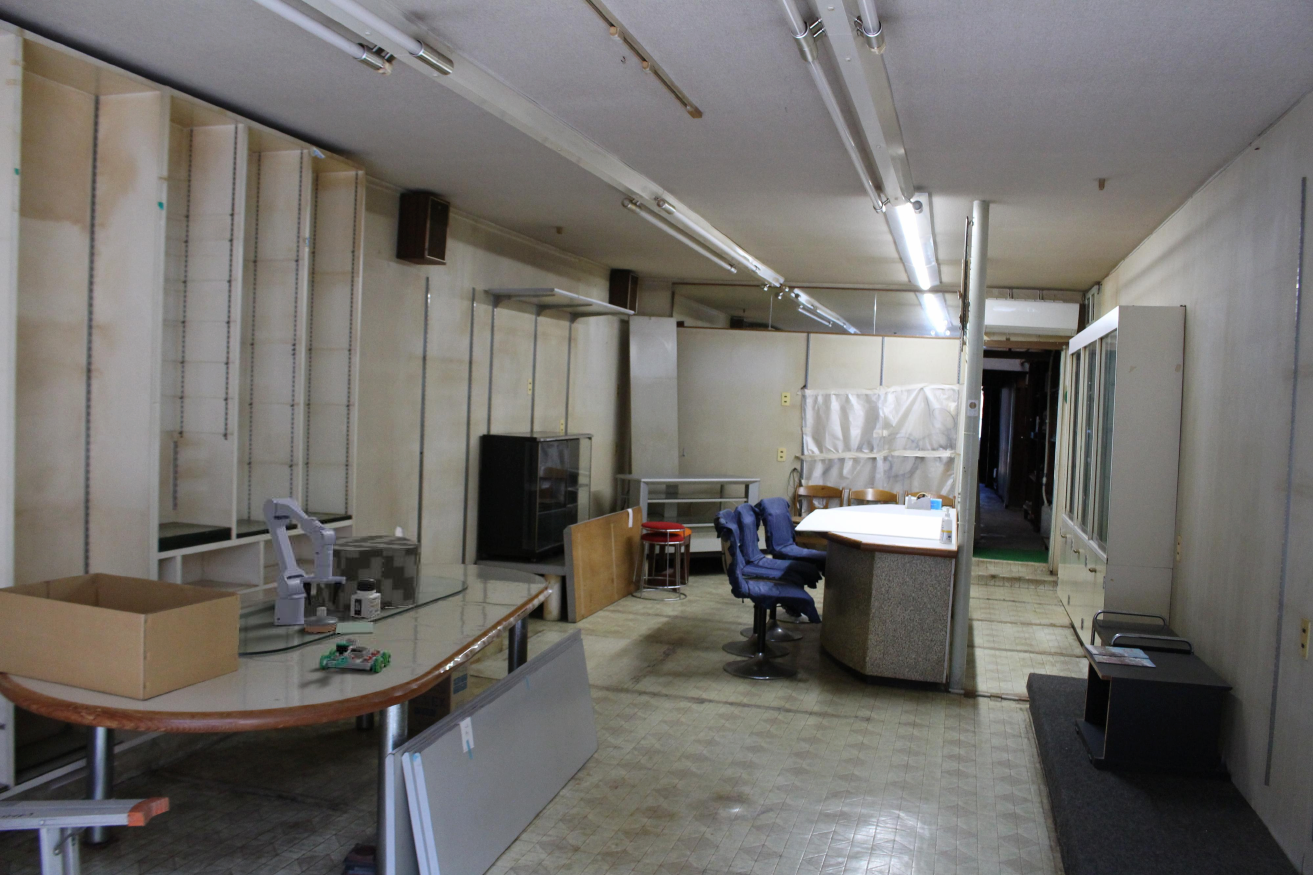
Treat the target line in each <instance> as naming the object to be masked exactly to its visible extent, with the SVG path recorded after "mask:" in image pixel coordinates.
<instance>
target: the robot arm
mask: <svg viewBox="0 0 1313 875" xmlns="http://www.w3.org/2000/svg"><path fill="white" fill-rule="evenodd" d="M261 509H262V514H263V515H264V520H265V523H266V525H267V529H268V532H269V534H270V537H271V538H270V539H271V542H272V546H273V548H274V553H275V555H276V558H277V562H278V565H279V569H280V571H281V572H280V573H279V575H277V577H276V579H275V581H276V590H277V594H278V595H279V597H276V598H275V604H274V617H273V619H274V623H273V625H275V626H283V625H285V626H287V625H289V626H290V625H293V626H294V625H305V624H304V619H306V617H305V597H306V598H307V604H308V606H311V605H312V585H313V584H316V583H334V596H333V605H335V601H336V597H337V594H338V592H339V590H340V588H341V586H342V584H345V578H346V577H334V576H332V559H333V545H334V544H335V543H336V541H337V537H338V534H337V532H336V530H335V529H334V528H332V527H330V528H329V527H326V526H325V525H324V524H322V523H321V522H320V521H318V518H317V517H313V516H311V517H309V516H308V515H307V514H306V513H305V512H304V511H303V510H302V509H301V507H299V503H298V501H297V500H295V498H294V497H290V496H289V497H286V498H285V497H282V498H267V499H266V500H265V501H264V504H263V506H262V508H261ZM291 520H294V521H295V522H296V523H298V524H299V525H300V529H301V531H302V532H303V533H304V534H306V536H308V537H309V538H310V539H311V543H312V546H313V549H312V550H313V552H314V565H313V566H314V570H313V576H307V574H306V572H305V570H303V569H301V568H299V567H298V564H297V562H296V558H295V555H294V552H293V549H292V545H291V542H290V539H289V536H288V532H287V529H286V525H287V524H288V523H290V521H291ZM317 581H319V582H317ZM325 581H328V582H325Z"/></svg>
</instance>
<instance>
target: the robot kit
mask: <svg viewBox="0 0 1313 875" xmlns="http://www.w3.org/2000/svg"><path fill="white" fill-rule="evenodd" d="M391 661H392V653H391V652H389V651H386V652H384V651H383V652H381V651H380V649H377V648H375V649H374V650H373V651H371V649H370V648H368V647H367V646H358V645H357V639H354V638H353V637H348V638H347V639H346V640H345V642H342V641H339V642H336V643H335V648H330V650H329V652H328V654H326V653H323V654H321V656H320V658H319V662H318V663H319V669H321V670H323V668H324V669H325V670H328V669H329V668H343V669H346V668H347V669H359V670H362V669H363V670H367V671H369V670H371V668H372V672H373V673H376V672H377V673H381V672H382V671H383V670H384V667H389V666H390V665H391ZM327 668H328V669H327Z"/></svg>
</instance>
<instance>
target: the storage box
mask: <svg viewBox="0 0 1313 875" xmlns="http://www.w3.org/2000/svg"><path fill="white" fill-rule="evenodd" d="M421 546H422V543H419V542H417V541H414V540H411V539H409V538H407V537H404V536H399V535H386V534H385V535H380V534H379V535H358V536H357V535H355V536H353V535H352V536H337V541H336V543H335V544H334V545H333V559H332V576H334V577H346V578H345V584H342V586H341V588H340V590H339V592H338V594H337V597H336V601H335V605H333V596H334V583H315V584H316V586H315V587H316V588H315V600H316V601H317V602H318V603H320V604H321V605H322V606H323V607H326V609H327V610H329V609H330V610H329V611H333V610H337V611H336V612H342V611H351V596H352V595H355V594H358V593H357V582H358V581H360V580H363V579H371V580H374V581H375V582H376V592H375V593H380V594H381V598H380V608H385V607H398V606H409V605H414V604H416V603H417V602H418V600H419V599H418V596H419V570H420V553H421V548H422V547H421ZM317 582H319V581H317ZM325 582H328V581H325ZM414 606H415V605H414Z"/></svg>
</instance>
